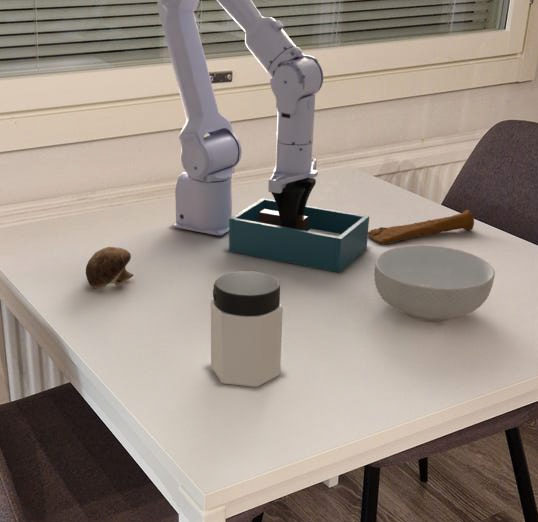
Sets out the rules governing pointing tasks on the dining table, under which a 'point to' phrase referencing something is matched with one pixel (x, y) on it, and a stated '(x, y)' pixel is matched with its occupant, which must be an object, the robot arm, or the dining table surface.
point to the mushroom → (108, 267)
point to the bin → (300, 237)
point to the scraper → (301, 224)
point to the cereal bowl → (433, 281)
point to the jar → (246, 328)
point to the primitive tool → (423, 228)
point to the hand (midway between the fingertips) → (291, 225)
